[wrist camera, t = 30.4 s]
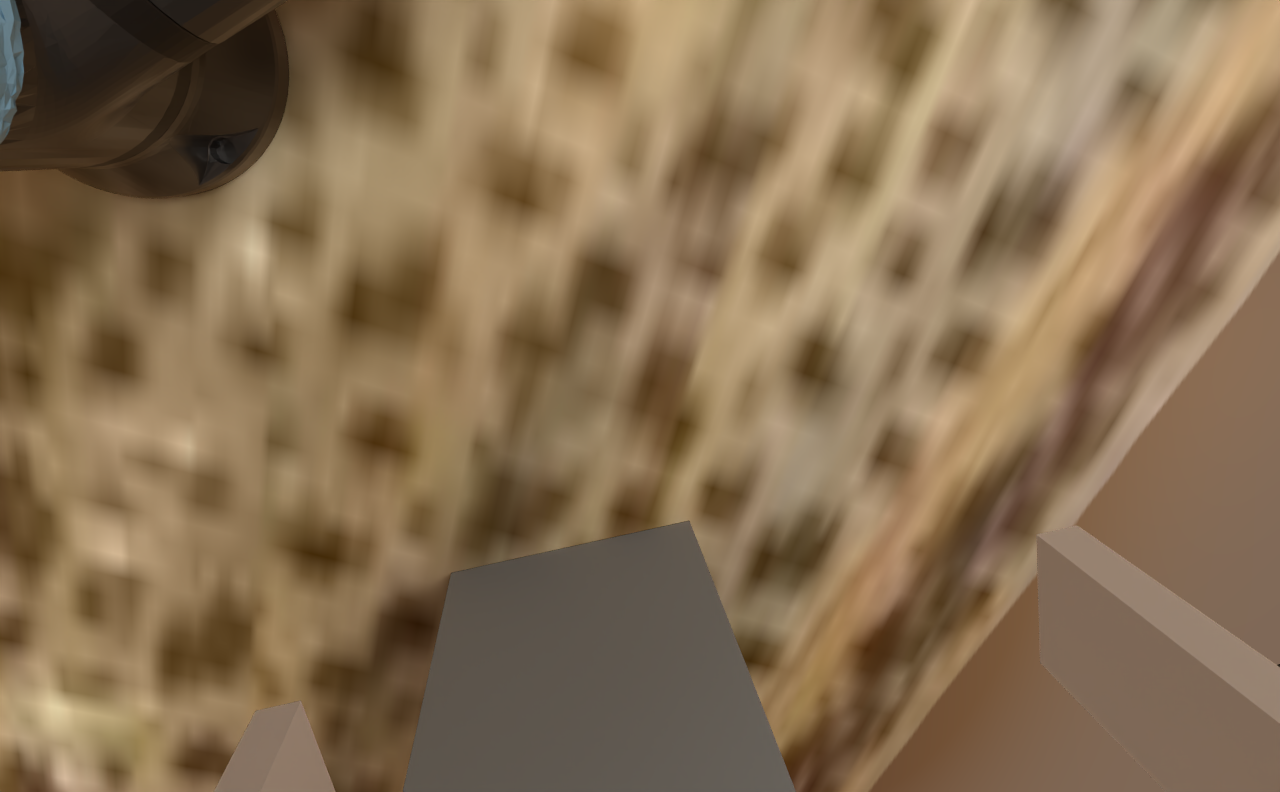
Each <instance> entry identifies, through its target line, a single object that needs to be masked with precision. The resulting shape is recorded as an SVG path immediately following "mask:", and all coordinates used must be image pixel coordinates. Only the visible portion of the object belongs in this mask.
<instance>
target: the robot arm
mask: <svg viewBox="0 0 1280 792" xmlns="http://www.w3.org/2000/svg"><path fill="white" fill-rule="evenodd" d="M286 1H287V0H0V171H20V170H43V169H58V170H59V171H61V172H63V173H65V174H67V175H68V176H70V177H72V178H74V179H76V180H78V181H80V182H82V183H85V184H87V185H90V186H92V187H95V188H98V189H101V190H104V191H108V192H112V193H116V194H120V195H126V196H131V197H140V198H168V197H177V196H185V195H192V194H197V193H201V192H205V191H208V190H211V189H214V188H217V187H219V186H221V185H223V184H226V183H227V182H229V181H231V180H233V179H234V178H236V177H237V176H239V175H240V174H242V173H243V172H244V171H246V170H247V169H248V168H249V167H250V166H251V165H253V164H254V163H255V162H256V161H257V160H258V158H259V157H260V156H261V155H262V154H263V152H264V151H265V150H266V148H267V147H268V146H269V144H270V142H271V141H272V139H273V137H274V135H275V134H276V132H277V130H278V127H279V125H280V122H281V120H282V117H283V113H284V110H285V106H286V101H287V95H288V86H289V65H288V55H287V48H286V44H285V39H284V35H283V32H282V28H281V25H280V22H279V20H278V17H277V14H276V12H275V10H274V9H275V8H277V7H278V6H280V5H281V4H283V3H284V2H286ZM1037 569H1038V599H1039V600H1038V602H1039V638H1040V663H1041V664H1042V665H1043V666H1044V667H1045V668H1046V669H1047V670H1048V671H1049V672H1050V674H1051V675H1052V676H1053V677H1054V678H1055V679H1056V680H1057V681H1058V682H1059V683H1060V684H1061V685H1062V686H1063V687H1064V688H1065V689H1066V690H1067V691H1068V692H1069V693H1070V694H1071V695H1072V696H1073V697H1074V698H1075V699H1076V700H1077V701H1078V702H1079V703H1080V704H1081V705H1082V706H1083V707H1084V709H1085V710H1086V711H1087V712H1088V713H1089V714H1090V715H1091V716H1092V717H1093V718H1094V719H1095V720H1096V721H1097V722H1098V723H1099V724H1100V725H1101V726H1102V727H1103V728H1104V729H1105V730H1106V731H1107V732H1108V733H1109V734H1110V735H1111V736H1112V737H1113V738H1114V739H1115V740H1116V741H1117V743H1118V744H1119V745H1120V746H1121V747H1122V748H1123V749H1124V750H1125V751H1126V752H1127V753H1128V754H1129V755H1130V756H1131V757H1132V758H1133V759H1134V760H1135V761H1136V762H1137V763H1138V764H1139V765H1140V766H1141V767H1142V768H1143V769H1144V770H1145V771H1146V772H1147V773H1148V774H1149V776H1150V777H1151V778H1152V779H1153V780H1154V781H1155V782H1156V783H1157V784H1158V785H1159V786H1160V787H1161V788H1162V789H1163V790H1164V791H1165V792H1280V664H1279V665H1276V664H1274V663H1273V662H1271V661H1270V660H1269V659H1267V658H1266V657H1264V656H1263V655H1261V654H1260V653H1258V652H1257V651H1255V650H1254V649H1253V648H1252V647H1250V646H1248V645H1247V644H1246V643H1244V642H1243V641H1241V640H1240V639H1239V638H1237V637H1236V636H1234V635H1233V634H1232V633H1230V632H1229V631H1227V630H1226V629H1224V628H1223V627H1222V626H1220V625H1219V624H1217V623H1216V622H1214V621H1213V620H1211V619H1210V618H1209V617H1207V616H1206V615H1204V614H1203V613H1202V612H1200V611H1199V610H1197V609H1196V608H1194V607H1193V606H1191V605H1190V604H1189V603H1187V602H1186V601H1184V600H1183V599H1181V598H1180V597H1179V596H1177V595H1176V594H1174V593H1173V592H1171V591H1170V590H1169V589H1167V588H1166V587H1164V586H1163V585H1161V584H1160V583H1159V582H1157V581H1156V580H1154V579H1153V578H1151V577H1150V576H1149V575H1147V574H1146V573H1144V572H1143V571H1142V570H1140V569H1139V568H1137V567H1136V566H1134V565H1133V564H1132V563H1130V562H1129V561H1127V560H1126V559H1124V558H1123V557H1122V556H1120V555H1119V554H1117V553H1116V552H1114V551H1113V550H1112V549H1110V548H1109V547H1107V546H1106V545H1104V544H1103V543H1102V542H1100V541H1099V540H1097V539H1096V538H1094V537H1093V536H1091V535H1090V534H1089V533H1087V532H1086V531H1084V530H1083V529H1081V528H1080V527H1079V526H1072V527H1068V528H1064V529H1059V530H1055V531H1050V532H1046V533H1041V534H1037ZM214 792H335V789H334V786H333V784H332V781H331V779H330V776H329V773H328V771H327V768H326V765H325V763H324V760H323V757H322V755H321V752H320V750H319V747H318V744H317V742H316V739H315V736H314V734H313V731H312V728H311V726H310V723H309V721H308V718H307V715H306V713H305V710H304V707H303V705H302V702H301V701H297V702H293V703H288V704H284V705H279V706H275V707H270V708H266V709H262V710H257V711H255V713H254V715H253V717H252V719H251V721H250V723H249V725H248V726H247V728H246V730H245V732H244V734H243V736H242V738H241V740H240V742H239V744H238V746H237V748H236V750H235V752H234V754H233V755H232V757H231V759H230V761H229V763H228V765H227V767H226V769H225V771H224V773H223V775H222V777H221V779H220V781H219V783H218V784H217V786H216V788H215V790H214Z"/></svg>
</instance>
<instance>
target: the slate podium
mask: <svg viewBox="0 0 1280 792" xmlns="http://www.w3.org/2000/svg"><path fill="white" fill-rule="evenodd" d="M403 792H796V791H795V788H794V786H793V783H792V781H791V778H790V776H789V773H788V771H787V768H786V766H785V763H784V760H783V758H782V755H781V753H780V750H779V748H778V745H777V743H776V740H775V738H774V735H773V732H772V730H771V727H770V725H769V722H768V720H767V717H766V715H765V712H764V710H763V707H762V705H761V702H760V699H759V697H758V694H757V692H756V689H755V687H754V684H753V682H752V679H751V677H750V674H749V671H748V669H747V666H746V664H745V661H744V659H743V656H742V654H741V651H740V649H739V646H738V643H737V641H736V638H735V636H734V633H733V631H732V628H731V626H730V623H729V621H728V618H727V615H726V613H725V610H724V608H723V605H722V603H721V600H720V598H719V595H718V593H717V590H716V587H715V585H714V582H713V580H712V577H711V575H710V572H709V570H708V567H707V565H706V562H705V559H704V557H703V554H702V552H701V549H700V547H699V544H698V542H697V539H696V537H695V534H694V531H693V529H692V526H691V524H690V521H686V522H682V523H677V524H672V525H668V526H663V527H659V528H654V529H650V530H645V531H641V532H636V533H631V534H627V535H622V536H618V537H613V538H609V539H604V540H599V541H595V542H590V543H586V544H581V545H577V546H572V547H568V548H563V549H558V550H554V551H549V552H545V553H540V554H536V555H531V556H526V557H522V558H517V559H513V560H508V561H504V562H499V563H495V564H490V565H485V566H481V567H476V568H472V569H467V570H463V571H458V572H453V573H451V576H450V581H449V585H448V590H447V594H446V599H445V603H444V608H443V612H442V617H441V621H440V626H439V630H438V635H437V639H436V644H435V648H434V653H433V657H432V662H431V666H430V671H429V675H428V680H427V684H426V689H425V693H424V698H423V702H422V707H421V711H420V716H419V720H418V725H417V729H416V734H415V738H414V743H413V747H412V752H411V756H410V761H409V766H408V770H407V775H406V779H405V784H404V788H403Z"/></svg>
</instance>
